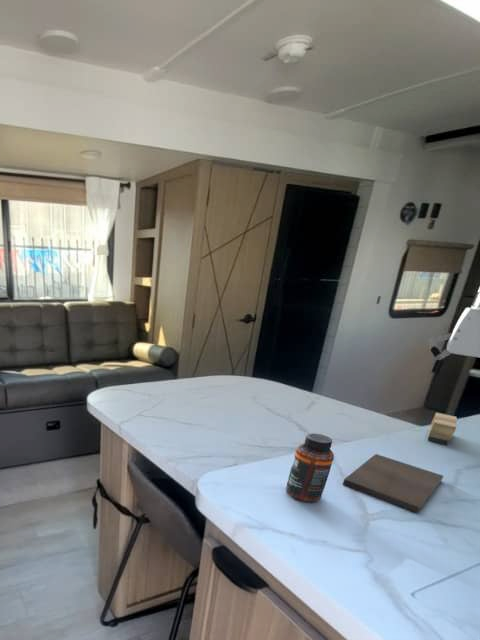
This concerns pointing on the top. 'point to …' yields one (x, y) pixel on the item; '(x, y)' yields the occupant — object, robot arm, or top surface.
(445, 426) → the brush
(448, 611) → the top surface
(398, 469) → the board
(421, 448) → the top surface
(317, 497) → the supplement bottle
